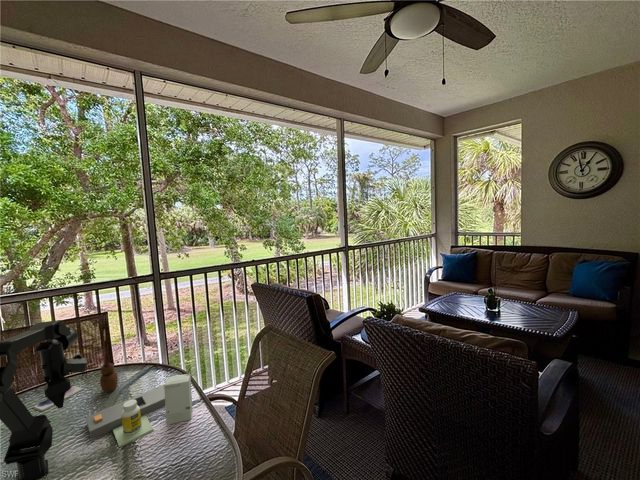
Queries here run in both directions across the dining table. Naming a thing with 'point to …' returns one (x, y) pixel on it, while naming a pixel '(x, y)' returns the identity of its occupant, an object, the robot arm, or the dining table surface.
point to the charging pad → (126, 439)
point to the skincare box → (178, 398)
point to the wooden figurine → (108, 377)
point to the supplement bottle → (131, 417)
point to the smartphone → (48, 403)
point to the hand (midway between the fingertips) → (59, 401)
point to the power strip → (112, 415)
